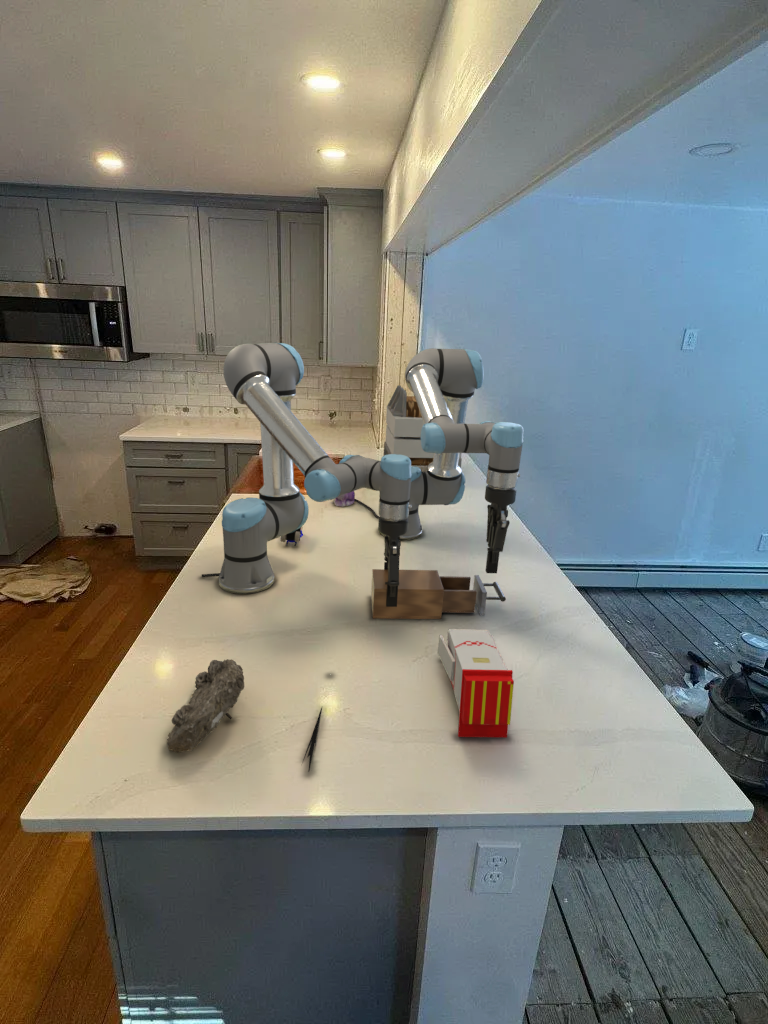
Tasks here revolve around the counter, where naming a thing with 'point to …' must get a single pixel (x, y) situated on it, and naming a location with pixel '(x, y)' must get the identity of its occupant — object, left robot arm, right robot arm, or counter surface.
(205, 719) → the fossil
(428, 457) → the transformer
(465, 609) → the drawer
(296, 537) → the figurine character
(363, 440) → the counter surface
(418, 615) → the cabinet
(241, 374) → the left robot arm
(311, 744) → the feather
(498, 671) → the toy
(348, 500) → the figurine
